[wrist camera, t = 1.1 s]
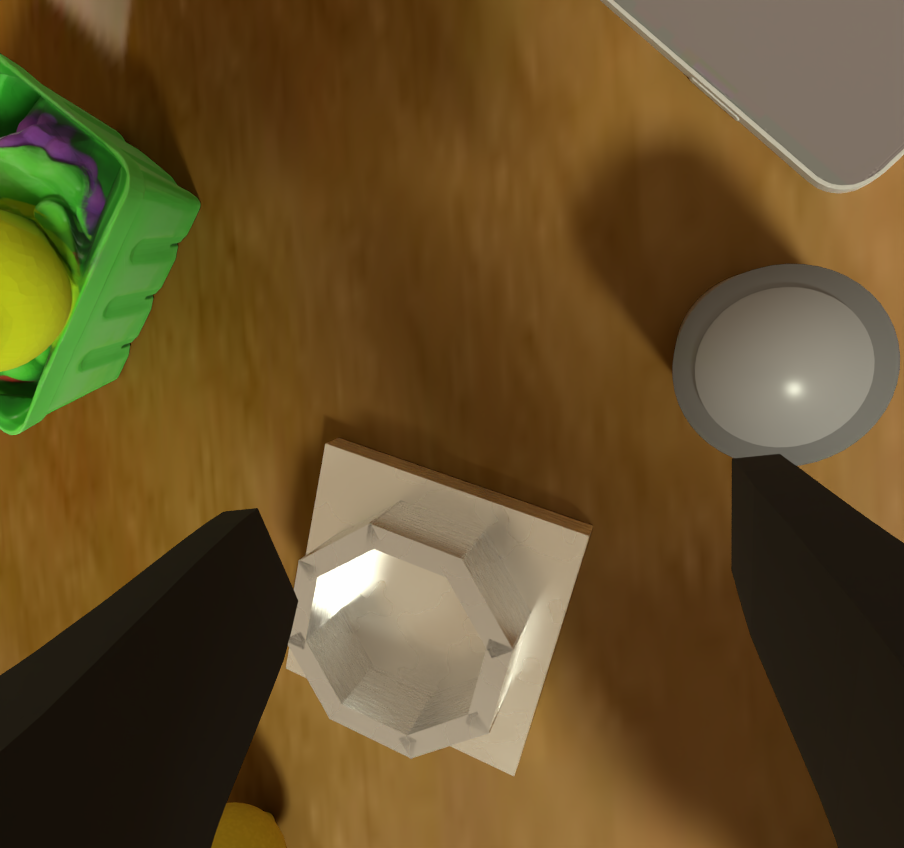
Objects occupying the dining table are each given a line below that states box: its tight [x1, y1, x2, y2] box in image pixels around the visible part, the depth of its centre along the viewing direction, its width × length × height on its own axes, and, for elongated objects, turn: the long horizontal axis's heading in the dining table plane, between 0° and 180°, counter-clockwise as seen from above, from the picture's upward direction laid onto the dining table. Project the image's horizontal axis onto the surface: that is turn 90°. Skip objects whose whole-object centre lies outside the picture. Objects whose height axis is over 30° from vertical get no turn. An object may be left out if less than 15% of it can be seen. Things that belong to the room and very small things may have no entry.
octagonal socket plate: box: [286, 438, 593, 776], centre depth 23 cm, size 10×10×4 cm
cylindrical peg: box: [672, 264, 900, 466], centre depth 17 cm, size 5×5×5 cm
